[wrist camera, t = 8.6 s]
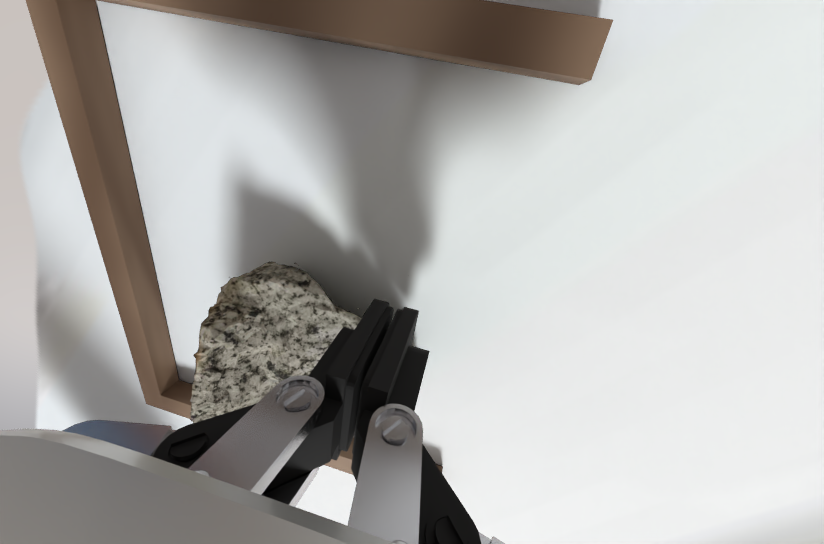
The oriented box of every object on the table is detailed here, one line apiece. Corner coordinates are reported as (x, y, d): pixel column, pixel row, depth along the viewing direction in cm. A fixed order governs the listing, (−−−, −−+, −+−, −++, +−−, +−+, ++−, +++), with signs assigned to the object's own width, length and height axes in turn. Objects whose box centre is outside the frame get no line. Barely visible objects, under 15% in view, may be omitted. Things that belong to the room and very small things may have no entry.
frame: (597, 32, 8) (613, 19, 7) (438, 479, 18) (434, 502, 16) (53, -53, 10) (4, -72, 9) (165, 388, 20) (146, 404, 18)
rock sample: (421, 531, 13) (152, 653, 8) (343, 431, 19) (162, 463, 14) (473, 287, 13) (230, 244, 8) (377, 264, 19) (205, 231, 14)
